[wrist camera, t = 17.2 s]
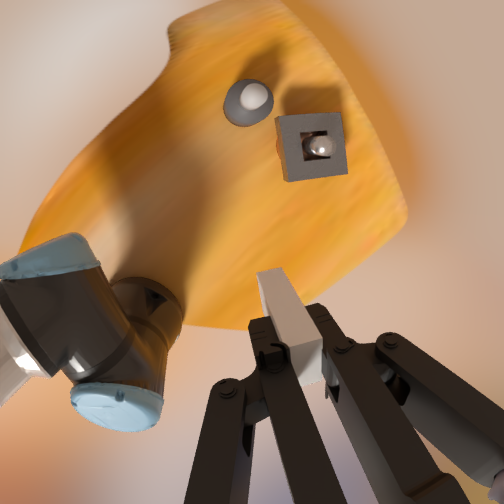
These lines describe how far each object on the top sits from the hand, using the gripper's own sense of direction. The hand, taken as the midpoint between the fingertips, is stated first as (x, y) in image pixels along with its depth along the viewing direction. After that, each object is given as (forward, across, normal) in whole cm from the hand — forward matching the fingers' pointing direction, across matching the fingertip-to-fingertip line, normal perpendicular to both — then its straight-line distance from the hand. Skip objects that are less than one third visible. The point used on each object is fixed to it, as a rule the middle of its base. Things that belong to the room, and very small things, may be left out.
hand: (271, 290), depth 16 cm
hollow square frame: (+23, +12, +7) cm, 27 cm away
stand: (+26, +4, +14) cm, 30 cm away
